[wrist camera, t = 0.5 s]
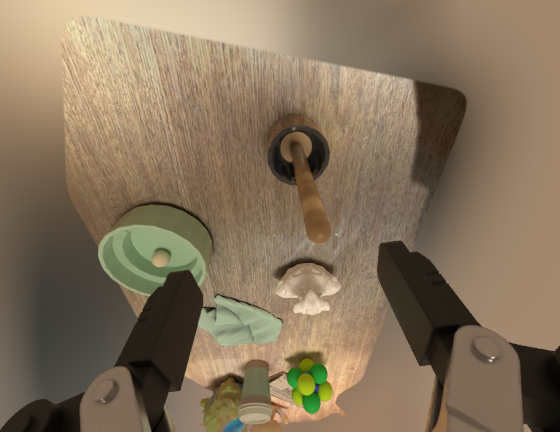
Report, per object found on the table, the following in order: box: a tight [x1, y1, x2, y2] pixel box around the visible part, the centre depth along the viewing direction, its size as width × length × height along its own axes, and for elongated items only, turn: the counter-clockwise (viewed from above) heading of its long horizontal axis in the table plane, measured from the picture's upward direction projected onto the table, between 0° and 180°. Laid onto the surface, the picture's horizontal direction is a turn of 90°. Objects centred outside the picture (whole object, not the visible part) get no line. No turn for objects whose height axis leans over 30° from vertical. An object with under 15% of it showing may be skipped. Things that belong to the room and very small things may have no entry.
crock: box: [268, 114, 330, 185], centre depth 30 cm, size 7×7×6 cm
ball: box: [151, 250, 170, 267], centre depth 40 cm, size 3×3×3 cm
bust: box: [274, 263, 341, 315], centre depth 42 cm, size 12×8×11 cm
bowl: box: [98, 204, 213, 296], centre depth 39 cm, size 15×15×6 cm
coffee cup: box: [238, 360, 273, 424], centre depth 62 cm, size 8×8×12 cm
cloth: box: [198, 295, 283, 347], centre depth 54 cm, size 20×22×2 cm
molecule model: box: [287, 358, 332, 414], centre depth 61 cm, size 9×9×9 cm
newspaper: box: [269, 372, 304, 408], centre depth 76 cm, size 23×12×2 cm, turn 39°
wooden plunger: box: [280, 130, 331, 243], centre depth 24 cm, size 4×4×20 cm
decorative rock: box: [200, 378, 249, 432], centre depth 68 cm, size 14×16×15 cm
